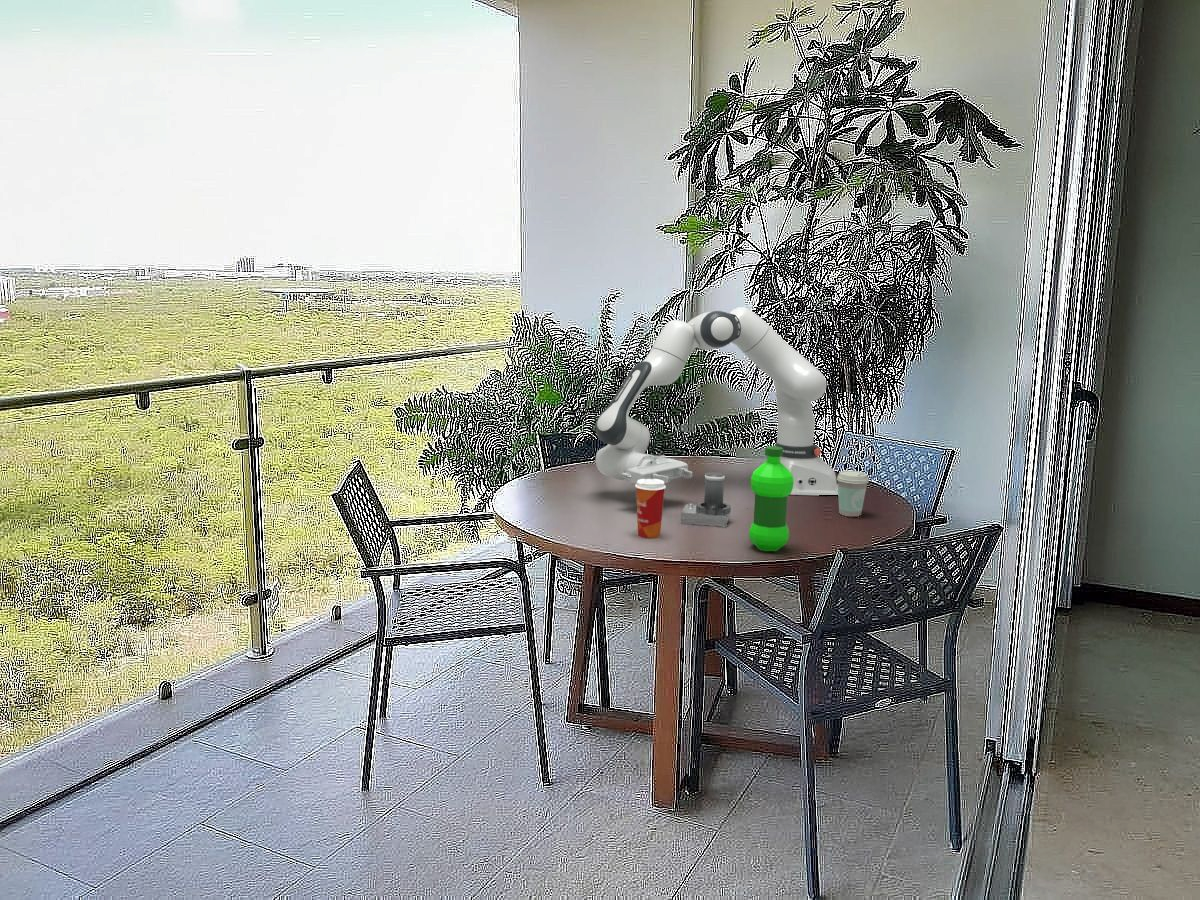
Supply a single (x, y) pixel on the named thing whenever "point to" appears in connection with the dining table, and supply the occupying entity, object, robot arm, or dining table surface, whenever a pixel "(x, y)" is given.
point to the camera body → (705, 515)
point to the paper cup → (649, 507)
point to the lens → (714, 490)
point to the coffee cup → (851, 492)
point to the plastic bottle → (771, 502)
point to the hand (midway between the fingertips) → (680, 477)
